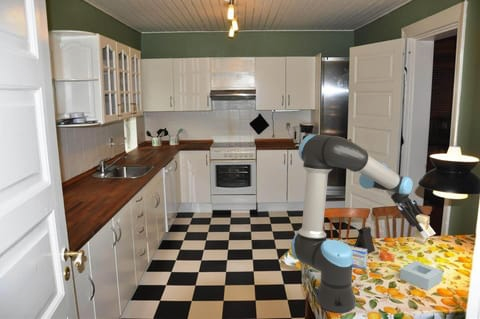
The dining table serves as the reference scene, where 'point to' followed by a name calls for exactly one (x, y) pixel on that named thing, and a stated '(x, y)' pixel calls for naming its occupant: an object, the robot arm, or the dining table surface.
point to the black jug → (365, 240)
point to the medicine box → (359, 257)
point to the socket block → (421, 275)
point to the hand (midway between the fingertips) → (430, 236)
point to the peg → (425, 222)
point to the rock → (386, 256)
